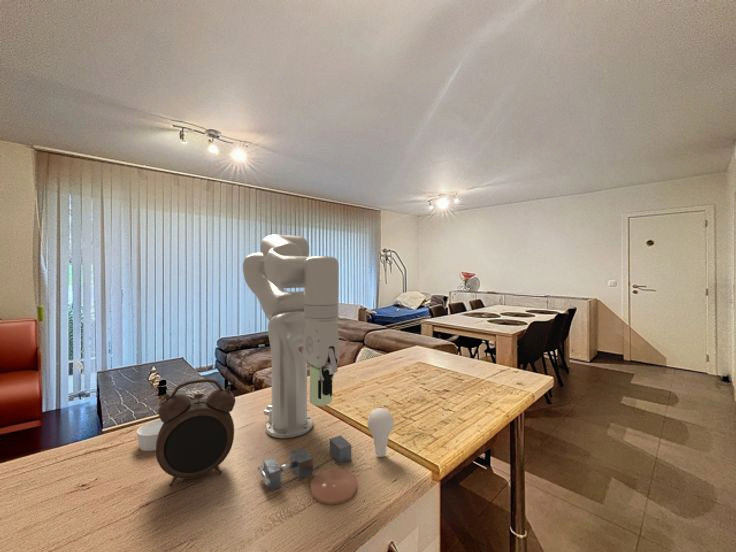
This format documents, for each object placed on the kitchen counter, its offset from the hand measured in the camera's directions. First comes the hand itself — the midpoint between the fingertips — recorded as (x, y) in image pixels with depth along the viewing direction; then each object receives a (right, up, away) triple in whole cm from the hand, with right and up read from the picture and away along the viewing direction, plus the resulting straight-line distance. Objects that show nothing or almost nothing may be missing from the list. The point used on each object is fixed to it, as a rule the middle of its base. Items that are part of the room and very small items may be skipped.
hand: (320, 393), depth 70 cm
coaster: (+4, -16, -8) cm, 18 cm away
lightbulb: (+13, -16, +3) cm, 21 cm away
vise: (-3, -16, -2) cm, 16 cm away
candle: (0, -2, 0) cm, 2 cm away
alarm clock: (-25, -16, -4) cm, 30 cm away
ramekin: (-42, -16, +9) cm, 46 cm away
